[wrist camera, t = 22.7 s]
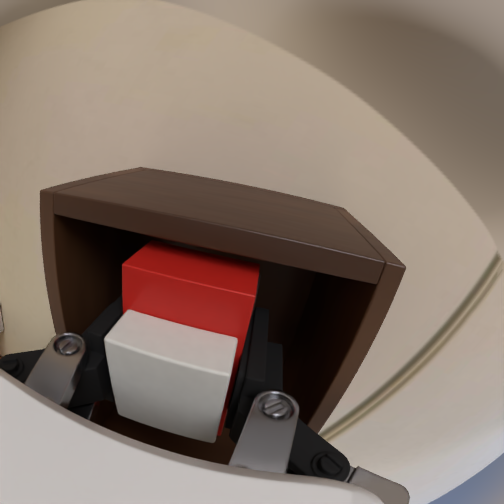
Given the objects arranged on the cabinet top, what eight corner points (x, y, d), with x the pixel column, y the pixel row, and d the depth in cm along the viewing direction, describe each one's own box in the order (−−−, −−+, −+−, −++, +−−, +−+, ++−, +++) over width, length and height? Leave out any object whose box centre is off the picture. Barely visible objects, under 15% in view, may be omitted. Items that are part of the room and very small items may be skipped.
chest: (140, 167, 16) (39, 190, 8) (344, 208, 16) (407, 267, 8) (135, 357, 21) (90, 434, 13) (280, 392, 21) (278, 484, 13)
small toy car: (157, 232, 10) (87, 288, 6) (264, 255, 10) (255, 333, 6) (153, 367, 13) (117, 438, 8) (232, 387, 12) (217, 468, 8)
